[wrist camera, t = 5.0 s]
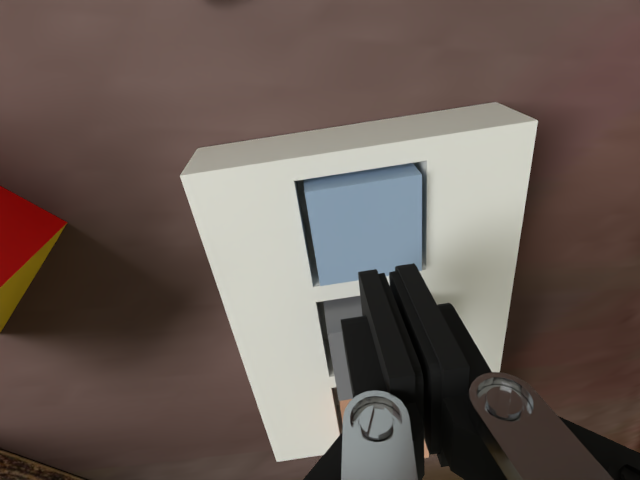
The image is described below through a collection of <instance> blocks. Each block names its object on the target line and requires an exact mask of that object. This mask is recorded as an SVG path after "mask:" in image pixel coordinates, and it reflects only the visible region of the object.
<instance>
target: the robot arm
mask: <svg viewBox="0 0 640 480" xmlns="http://www.w3.org/2000/svg"><path fill="white" fill-rule="evenodd" d="M358 279H359V288H360V298H361V307H362V316H360V317H353V318H347V319H341V328H342V335H343V342H344V348H345V354H346V361H347V367H348V372H349V378H350V384H351V390H352V395H353V399H352V400H351V401H350V402H349V403H348V405H347V407H346V408H345V411H344V415H343V432H342V433H341V434H340V436H339V437H338V438H337V439H336V440H335V442H334V443H333V444H332V445H331V447H330V448H329V449H328V450H327V451H326V453H325V454H324V455H323V456H322V458H321V459H320V460H319V461H318V462H317V464H316V465H315V466H314V467H313V469H312V470H311V471H310V472H309V474H308V475H307V476H306V477H305V478H304V480H422V478H423V476H424V440H425V443H426V446H427V449H428V451H429V453H430V454H436V453H437V456H438V459H439V462H440V465H441V467H445V466H449V467H450V470H451V471H452V472H454V473H455V474H457V475H458V476H460V477H462V478H463V480H640V453H638V452H636V451H634V450H631V449H629V448H627V447H625V446H623V445H620V444H618V443H616V442H614V441H612V440H609V439H607V438H605V437H603V436H601V435H598V434H596V433H594V432H592V431H590V430H587V429H585V428H583V427H581V426H579V425H576V424H574V423H572V422H570V421H568V420H565V419H563V418H561V417H559V416H557V415H556V414H555V412H554V411H553V410H552V409H551V408H550V407H549V406H548V404H547V403H546V402H545V401H544V400H543V399H542V398H541V397H540V395H539V394H538V393H537V392H536V391H535V390H534V389H533V388H532V387H531V386H530V385H529V384H528V383H526V382H525V381H523V380H522V379H520V378H518V377H516V376H513V375H510V374H507V373H500V372H492V371H491V369H490V368H489V366H488V364H487V363H486V361H485V359H484V358H483V356H482V354H481V352H480V351H479V349H478V347H477V346H476V344H475V342H474V341H473V339H472V337H471V335H470V334H469V332H468V330H467V329H466V327H465V325H464V324H463V322H462V320H461V318H460V317H459V315H458V313H457V312H456V310H455V308H454V307H453V305H452V304H450V303H444V304H438V305H437V304H436V302H435V300H434V298H433V296H432V294H431V293H430V291H429V289H428V287H427V285H426V283H425V281H424V279H423V278H422V276H421V274H420V272H419V270H418V268H417V266H416V265H415V264H414V263H413V264H406V265H400V266H396V267H395V271H393V272H389V281H390V286H389V283H388V280H387V278H386V275H385V273H380V274H378V271H377V269H374V270H367V271H361V272H358Z"/></svg>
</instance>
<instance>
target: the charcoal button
mask: <svg viewBox="0 0 640 480" xmlns="http://www.w3.org/2000/svg"><path fill="white" fill-rule="evenodd" d="M323 303H324V311H325V319H326V327H327V335H328V340H329V346H330V352H331V358H332V364H333V370H334V376H335V382H336V388H337V394H338V400H339V401H342V400H349V399H353V395H352V390H351V384H350V378H349V372H348V367H347V361H346V354H345V348H344V342H343V335H342V328H341V319H347V318H353V317H360V316H362V307H361V298H360V296H354V297H347V298H341V299H334V300H327V301H323Z"/></svg>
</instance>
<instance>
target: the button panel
mask: <svg viewBox="0 0 640 480" xmlns="http://www.w3.org/2000/svg"><path fill="white" fill-rule="evenodd" d="M537 124H538V120H536V119H534V118H532V117H529V116H527V115H525V114H522V113H520V112H518V111H515V110H513V109H511V108H509V107H506V106H504V105H502V104H499V103H497V102H493V103H487V104H480V105H474V106H467V107H461V108H454V109H448V110H441V111H435V112H429V113H422V114H416V115H409V116H403V117H396V118H390V119H383V120H377V121H370V122H364V123H358V124H351V125H345V126H338V127H332V128H325V129H319V130H312V131H306V132H299V133H293V134H286V135H280V136H274V137H267V138H261V139H254V140H248V141H241V142H235V143H228V144H222V145H215V146H209V147H203V148H197V150H196V151H195V153H194V154H193V156H192V158H191V159H190V161H189V162H188V164H187V165H186V167H185V168H184V170H183V172H182V173H181V175H180V178H181V181H182V184H183V187H184V190H185V192H186V195H187V198H188V201H189V204H190V207H191V210H192V213H193V216H194V219H195V222H196V225H197V228H198V231H199V234H200V237H201V240H202V243H203V246H204V249H205V252H206V254H207V257H208V260H209V263H210V266H211V269H212V272H213V275H214V278H215V281H216V284H217V287H218V290H219V293H220V296H221V299H222V302H223V305H224V308H225V311H226V314H227V316H228V319H229V322H230V325H231V328H232V331H233V334H234V337H235V340H236V343H237V346H238V349H239V352H240V355H241V358H242V361H243V364H244V367H245V370H246V373H247V376H248V378H249V381H250V384H251V387H252V390H253V393H254V396H255V399H256V402H257V405H258V408H259V411H260V414H261V417H262V420H263V423H264V426H265V429H266V432H267V435H268V438H269V440H270V443H271V446H272V449H273V452H274V455H275V458H276V461H277V462H279V461H286V460H292V459H299V458H306V457H312V456H319V455H324V454H325V453H326V451H327V450H328V449H329V448H330V447H331V445H332V444H333V443H334V442H335V440H336V439H337V438H338V437H339V436H340V434H341V433H342V432H343V423H342V416H341V409H340V402H339V400H338V394H337V388H336V382H335V376H334V370H333V364H332V358H331V352H330V346H329V340H328V335H327V327H326V319H325V311H324V303H323V301H327V300H334V299H341V298H347V297H354V296H360V288H359V280H357V281H350V282H344V283H337V284H331V285H324V286H320V282H319V276H318V270H317V264H316V258H315V252H314V246H313V240H312V234H311V228H310V222H309V216H308V210H307V204H306V198H305V192H304V182H303V180H304V179H311V178H317V177H323V176H330V175H336V174H343V173H349V172H356V171H362V170H369V169H375V168H382V167H388V166H395V165H401V164H408V163H413V164H414V165H415V167H416V168H417V169H418V170H419V171H420V173H421V174H422V271H419V272H420V274H421V276H422V278H423V279H424V281H425V283H426V285H427V287H428V289H429V291H430V293H431V294H432V296H433V298H434V300H435V302H436V304H437V305H438V304H444V303H450V304H452V305H453V307H454V308H455V310H456V312H457V313H458V315H459V317H460V318H461V320H462V322H463V324H464V325H465V327H466V329H467V330H468V332H469V334H470V335H471V337H472V339H473V341H474V342H475V344H476V346H477V347H478V349H479V351H480V352H481V354H482V356H483V358H484V359H485V361H486V363H487V364H488V366H489V368H490V369H491V371H492V372H500V367H501V360H502V354H503V347H504V341H505V334H506V327H507V321H508V314H509V308H510V301H511V295H512V288H513V282H514V275H515V268H516V262H517V255H518V249H519V242H520V236H521V229H522V222H523V216H524V209H525V203H526V196H527V190H528V183H529V177H530V170H531V163H532V157H533V150H534V144H535V137H536V131H537ZM386 278H387V280H388V283H389V286H390V281H389V276H386Z"/></svg>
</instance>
